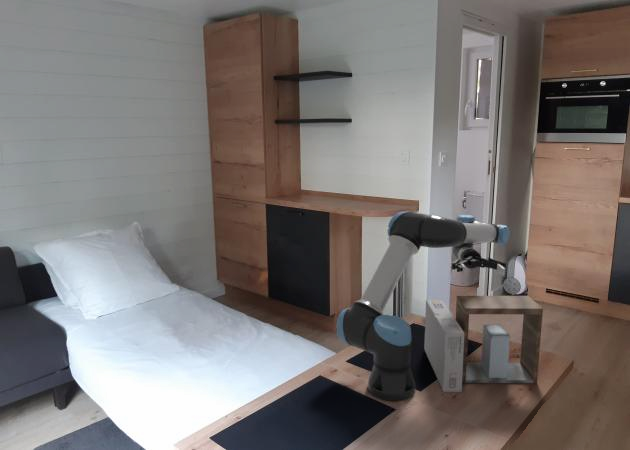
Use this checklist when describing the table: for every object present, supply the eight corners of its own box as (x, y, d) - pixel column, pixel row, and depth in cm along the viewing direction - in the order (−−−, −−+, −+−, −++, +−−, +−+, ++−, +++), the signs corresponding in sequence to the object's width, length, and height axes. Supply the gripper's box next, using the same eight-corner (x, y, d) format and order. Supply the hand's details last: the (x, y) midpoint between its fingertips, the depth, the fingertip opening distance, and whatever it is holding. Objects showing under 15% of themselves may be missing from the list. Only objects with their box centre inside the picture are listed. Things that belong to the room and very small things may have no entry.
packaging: (462, 391, 157) (464, 333, 153) (442, 391, 157) (445, 333, 153) (440, 349, 187) (442, 299, 183) (424, 349, 187) (425, 299, 183)
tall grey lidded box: (488, 377, 163) (491, 335, 160) (481, 364, 172) (483, 324, 169) (507, 377, 163) (509, 335, 160) (498, 364, 172) (500, 324, 169)
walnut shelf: (462, 382, 162) (465, 308, 157) (453, 365, 174) (456, 295, 169) (536, 383, 161) (542, 308, 156) (523, 365, 173) (528, 295, 168)
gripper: (500, 266, 200) (518, 282, 179) (438, 266, 201) (449, 281, 180) (501, 248, 198) (520, 262, 178) (439, 248, 200) (450, 261, 179)
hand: (484, 272), depth 179 cm, fingers open, 13 cm apart
